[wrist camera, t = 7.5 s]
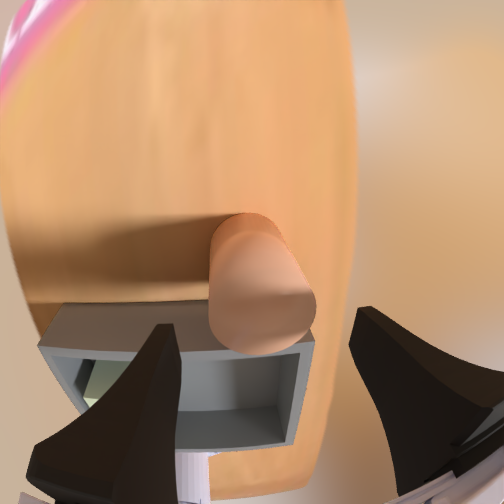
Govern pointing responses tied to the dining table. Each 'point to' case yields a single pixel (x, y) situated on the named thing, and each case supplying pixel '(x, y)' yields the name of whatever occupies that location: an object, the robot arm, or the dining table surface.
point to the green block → (103, 378)
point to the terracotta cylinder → (256, 288)
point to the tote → (187, 372)
